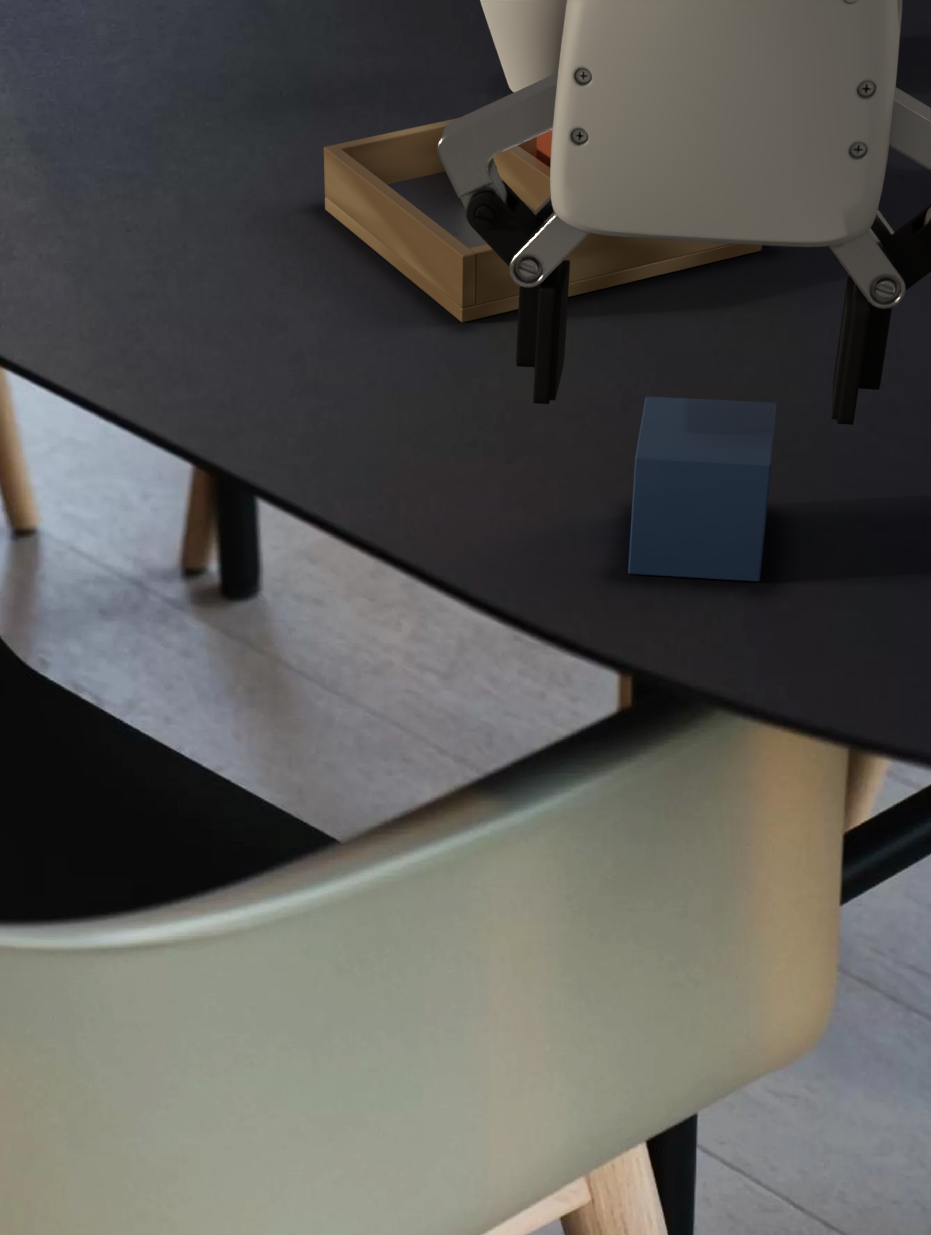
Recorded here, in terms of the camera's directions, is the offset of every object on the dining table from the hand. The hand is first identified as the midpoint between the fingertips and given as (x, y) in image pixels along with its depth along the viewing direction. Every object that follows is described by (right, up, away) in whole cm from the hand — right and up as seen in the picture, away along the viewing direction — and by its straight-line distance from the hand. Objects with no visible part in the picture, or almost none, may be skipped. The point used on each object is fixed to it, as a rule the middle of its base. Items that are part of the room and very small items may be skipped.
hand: (694, 395), depth 82 cm
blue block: (+1, -4, +4) cm, 6 cm away
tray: (-2, +13, +24) cm, 28 cm away
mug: (+2, +23, +36) cm, 43 cm away
